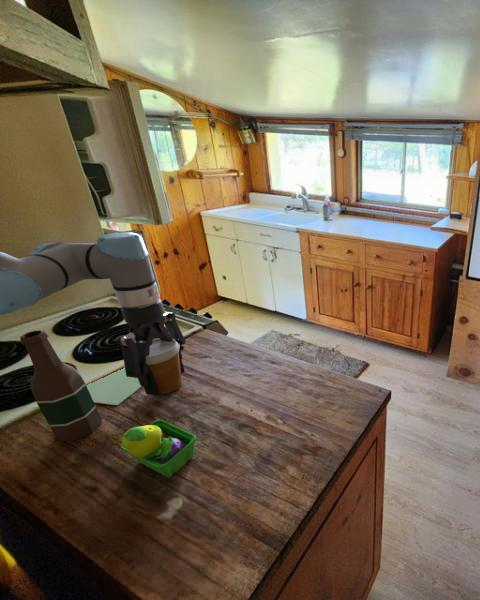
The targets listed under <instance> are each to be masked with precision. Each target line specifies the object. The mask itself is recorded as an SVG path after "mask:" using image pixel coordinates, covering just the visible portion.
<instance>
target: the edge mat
mask: <svg viewBox="0 0 480 600" xmlns="http://www.w3.org/2000/svg"><path fill="white" fill-rule="evenodd" d="M140 370H141V369H140ZM87 384H88V383H87ZM86 386H87V388H88V390H89V393H90V395H91V397H92V399H93V401H94V404H100V405H101V404H102V405H110V406H115V407H116V406H117V407H118V406H119V405H120V404H122V403H123V402H124V401H125V400H127V399H128V398H130V397H131V396H132V395H133V394H135V393H136V392H138V391H139V390H140V389H141V388H143V386H141V385H140V383H139V380H138V378H133V377H127V376H126V371H125V367H124V368H123V369H121V370H118V371H117V372H114V373H112V374H110V375H108V376H106V377H104V378H101V379H99V380H97V381H95V382H93V383H90V384H88V385H86Z"/></svg>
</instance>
